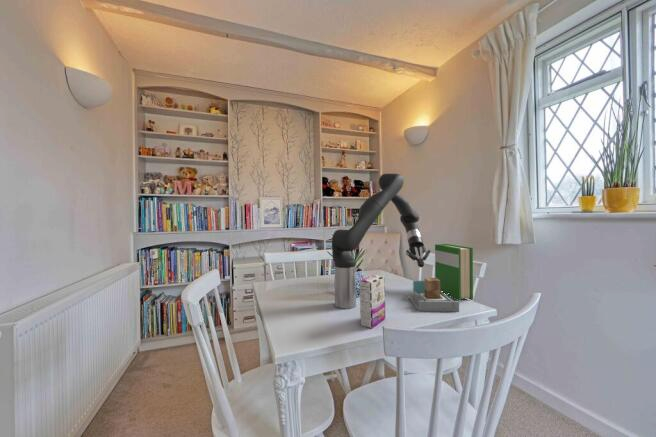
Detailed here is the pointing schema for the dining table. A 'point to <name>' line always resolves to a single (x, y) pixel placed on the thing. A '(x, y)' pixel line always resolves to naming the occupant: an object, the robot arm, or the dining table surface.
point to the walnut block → (432, 288)
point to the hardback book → (454, 270)
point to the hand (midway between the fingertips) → (421, 266)
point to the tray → (420, 289)
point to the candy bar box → (372, 300)
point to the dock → (434, 303)
